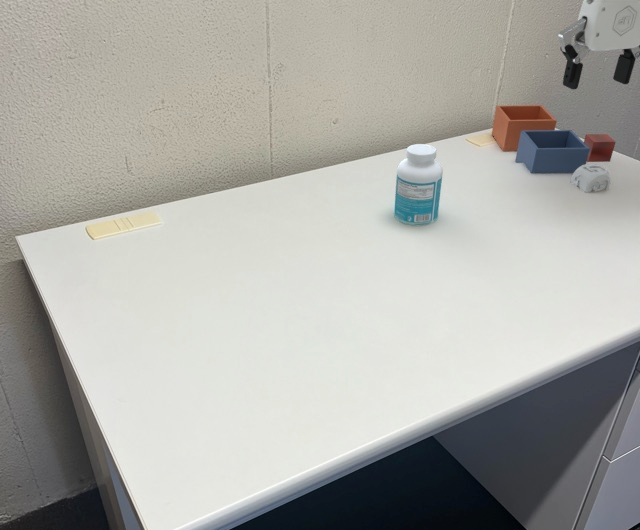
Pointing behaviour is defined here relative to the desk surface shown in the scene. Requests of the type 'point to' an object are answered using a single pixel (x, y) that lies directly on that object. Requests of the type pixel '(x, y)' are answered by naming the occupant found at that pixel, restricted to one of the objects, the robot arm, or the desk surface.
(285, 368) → the desk surface
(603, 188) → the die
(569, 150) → the blue bin
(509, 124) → the terracotta bin
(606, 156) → the red block
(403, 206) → the pill bottle
